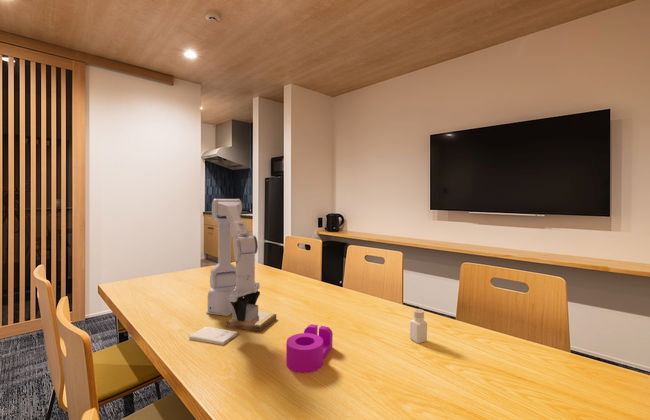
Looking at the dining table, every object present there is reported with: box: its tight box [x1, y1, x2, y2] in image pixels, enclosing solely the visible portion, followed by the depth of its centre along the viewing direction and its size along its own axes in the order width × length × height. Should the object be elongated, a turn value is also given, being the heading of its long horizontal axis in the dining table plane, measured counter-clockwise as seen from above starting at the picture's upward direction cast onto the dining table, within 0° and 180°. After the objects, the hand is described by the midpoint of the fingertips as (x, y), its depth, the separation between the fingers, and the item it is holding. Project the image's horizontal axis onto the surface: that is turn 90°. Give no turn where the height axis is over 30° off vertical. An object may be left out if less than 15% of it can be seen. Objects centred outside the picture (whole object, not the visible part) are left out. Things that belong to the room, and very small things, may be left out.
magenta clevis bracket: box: [285, 323, 334, 374], centre depth 90 cm, size 16×10×6 cm, turn 160°
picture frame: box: [225, 311, 277, 333], centre depth 114 cm, size 13×12×2 cm
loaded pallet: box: [231, 304, 259, 326], centre depth 101 cm, size 7×5×5 cm, turn 73°
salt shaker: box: [409, 308, 428, 344], centre depth 101 cm, size 4×4×10 cm
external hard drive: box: [188, 326, 239, 346], centre depth 102 cm, size 2×8×12 cm
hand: (245, 317), depth 101 cm, fingers closed on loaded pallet, 5 cm apart
